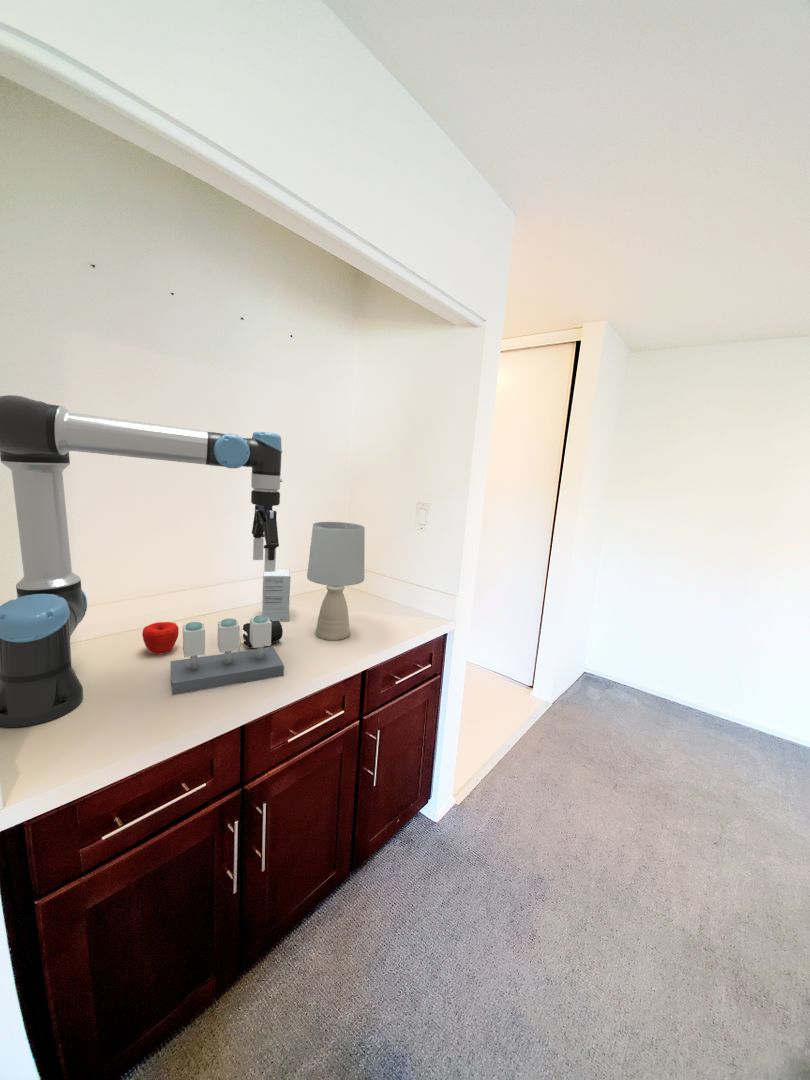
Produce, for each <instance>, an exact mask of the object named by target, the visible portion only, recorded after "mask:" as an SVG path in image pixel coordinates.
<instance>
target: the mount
mask: <svg viewBox="0 0 810 1080" xmlns="http://www.w3.org/2000/svg"><path fill="white" fill-rule="evenodd" d="M284 673H285V664H284V663H283V661H282V659H281V657H280V656H279V654H278V652H277V650H276V649H275V647H274V646H270V647H264V646H263V647H256V648H255V649H250V650H248V649H247V650H241V651H234V652H232V651H226V652H224V653H221V654H213V655H211V654H210V655H204V656H199V655H197V656H190V657H189V658H184V659H177V660H170V680H171V694H172V696H174V695H180V694H181V695H182V694H186V693H193V692H198V691H203V690H204V691H205V690H209V689H216V688H218V687H219V688H220V687H227V686H232V685H238V684H243V683H249V682H254V681H261V680H266V679H272V678H277V677H278V678H279V677H284V676H285V675H284Z"/></svg>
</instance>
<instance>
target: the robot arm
mask: <svg viewBox="0 0 810 1080" xmlns="http://www.w3.org/2000/svg"><path fill="white" fill-rule="evenodd" d="M282 448H283V447H282V437H281V435H280V434H278V433H274V432H264V431H254V432H253V433H252V436H251V437H250V438H248V437H245V438H244V437H242V436H239V435H238V434H234V433H221V432H213V431H206V430H200V429H199V430H198V429H194V428H193V429H192V428H185V427H177V426H170V425H162V424H157V423H156V424H155V423H151V422H150V423H149V422H148V423H147V422H142V421H133V420H128V419H119V418H113V417H106V416H99V415H98V416H97V415H91V414H84V413H77V412H71V411H69V410H68V409H67V408H66V407H65V406H63V405H56V404H50V403H48V402H47V403H46V402H44V401H42V400H41V401H40V400H35V399H32V398H28V397H25V396H21V395H16V394H15V395H12V394H9V395H0V462H1V464H3V465H4V466H5V467H7V468H8V469H9V470H10V471H11V477H12V485H13V492H14V493H13V495H14V503H15V509H16V519H17V520H16V521H17V527H18V537H19V545H20V553H21V563H22V572H23V577H22V578H21V580H19V581H18V582H17V583H16V584H15V589H16V596H17V597H16V599H10V600H7V601H5V602H4V603H2V604H1V605H0V727H2V728H3V727H4V728H22V727H29V726H34V725H39V724H44V723H45V722H49V721H51V720H55V719H57V718H60V717H62V716H64V715H67V714H68V713H70V712H72V711H73V710H74V709H76V708H77V707H79V705H80V704H81V703H82V701H83V699H84V691H83V690H84V689H83V685H82V684H81V682H80V681H81V680H80V679H79V678H78V675H77V674H76V672H75V671H74V668H73V666H72V653H71V652H72V650H71V636H72V634H73V633H74V632H75V630H76V628H77V627H78V625H79V624H80V623H81V622H82V621H83V619H84V617H85V616H86V613H87V610H88V599H87V596H86V593H85V592H84V591H83V590H82V581H81V580H82V579H81V577H80V576H79V575H77V574H76V573H74V572H73V570H72V560H71V559H72V558H71V549H70V539H69V531H68V530H69V528H68V527H69V526H68V519H67V517H68V515H67V508H66V505H67V504H66V496H65V487H64V486H65V485H64V474H63V472H64V470H65V469H66V468H68V467H69V466H70V465H71V463H70V461H71V460H70V453H69V452H79V453H81V452H82V453H89V454H98V455H107V456H119V457H128V458H130V457H131V458H137V459H139V458H140V459H147V460H157V461H166V462H167V461H168V462H176V463H187V464H196V465H197V464H198V465H206V466H214V467H223V468H227V469H239V468H242V467H245V468H251V476H250V477H251V481H250V482H251V484H250V487H251V488H252V490H251V491H250V492H251V494H250V503H251V504H252V505H254V515H253V522H252V529H251V534H252V537H253V544H252V545H253V547H252V548H253V550H252V551H253V552H252V560H253V561H263V560H264V567H263V568H264V569H263V572H264V571H265V572H273V571H275V569H276V560H277V559H276V557H277V548H279V546H280V543H279V534H278V533H279V532H278V522H277V510H273V507H274V506H275V507H277V506H279V505H280V503H281V500H280V499H281V493H280V491H279V490H280V489H281V483H282V482H283V479H282V478H281V471H282V469H281V468H282V453H283V450H282ZM264 540H265V544H264Z"/></svg>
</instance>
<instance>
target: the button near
mask: <svg viewBox="0 0 810 1080" xmlns="http://www.w3.org/2000/svg"><path fill="white" fill-rule="evenodd" d="M182 650H183V651H182V652H183V657H184V658H188V657H189V658H190V656H197V655H198V656H203V655H204V656H205V654H206V628H205V624H204V622H203V623H202V622H200V621H191V622H188V623H186V624H184V625H182Z"/></svg>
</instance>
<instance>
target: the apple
mask: <svg viewBox="0 0 810 1080" xmlns="http://www.w3.org/2000/svg"><path fill="white" fill-rule="evenodd" d="M141 634H142V640H143V643H144V645H145V647H146V648H147V650H148V651H149V652H150V653H152V654H154V655H163V654H166V653H169V652H171V651H172V650H173V649H174V646H175V645H176V643H177V640H178V637H179V626H178V625H177V623H175V622H171V621H170V622H169V621H159V622H154V623H151V624H148V625H146V626H145V627H143V629H142V632H141Z"/></svg>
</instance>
